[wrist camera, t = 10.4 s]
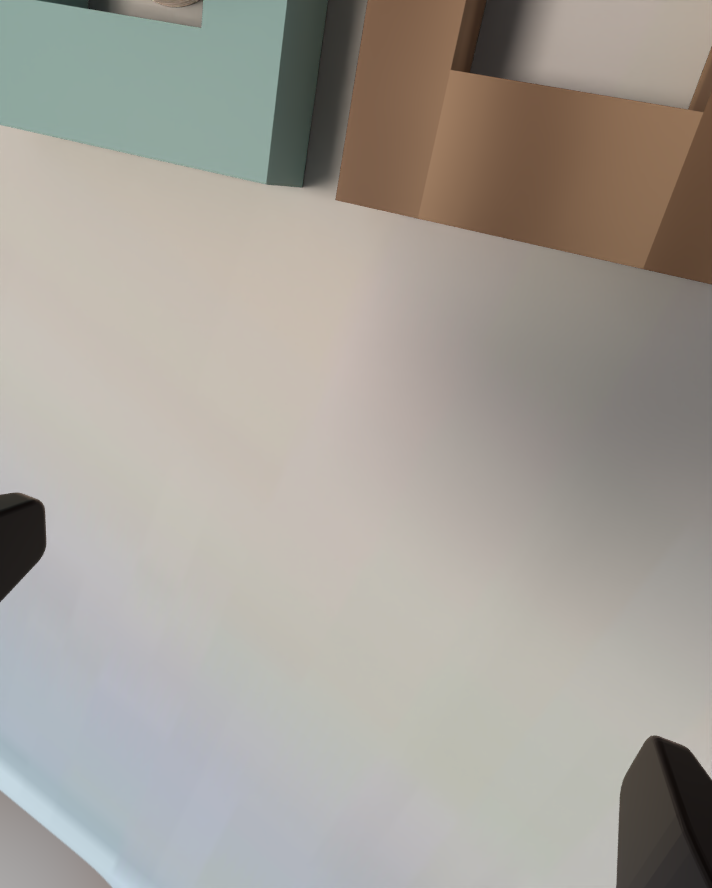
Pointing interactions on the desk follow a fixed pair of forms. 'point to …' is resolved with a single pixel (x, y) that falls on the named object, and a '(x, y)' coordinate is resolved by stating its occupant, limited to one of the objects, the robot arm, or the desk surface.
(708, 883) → the robot arm
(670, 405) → the desk surface
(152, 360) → the desk surface
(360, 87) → the socket block
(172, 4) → the steel peg
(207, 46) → the block
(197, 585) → the desk surface
